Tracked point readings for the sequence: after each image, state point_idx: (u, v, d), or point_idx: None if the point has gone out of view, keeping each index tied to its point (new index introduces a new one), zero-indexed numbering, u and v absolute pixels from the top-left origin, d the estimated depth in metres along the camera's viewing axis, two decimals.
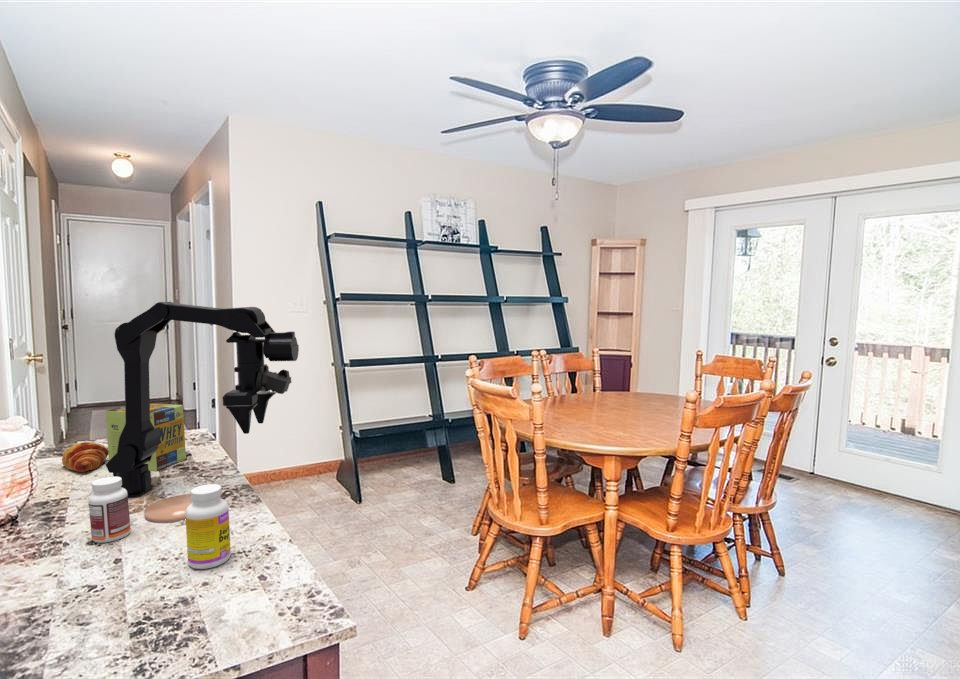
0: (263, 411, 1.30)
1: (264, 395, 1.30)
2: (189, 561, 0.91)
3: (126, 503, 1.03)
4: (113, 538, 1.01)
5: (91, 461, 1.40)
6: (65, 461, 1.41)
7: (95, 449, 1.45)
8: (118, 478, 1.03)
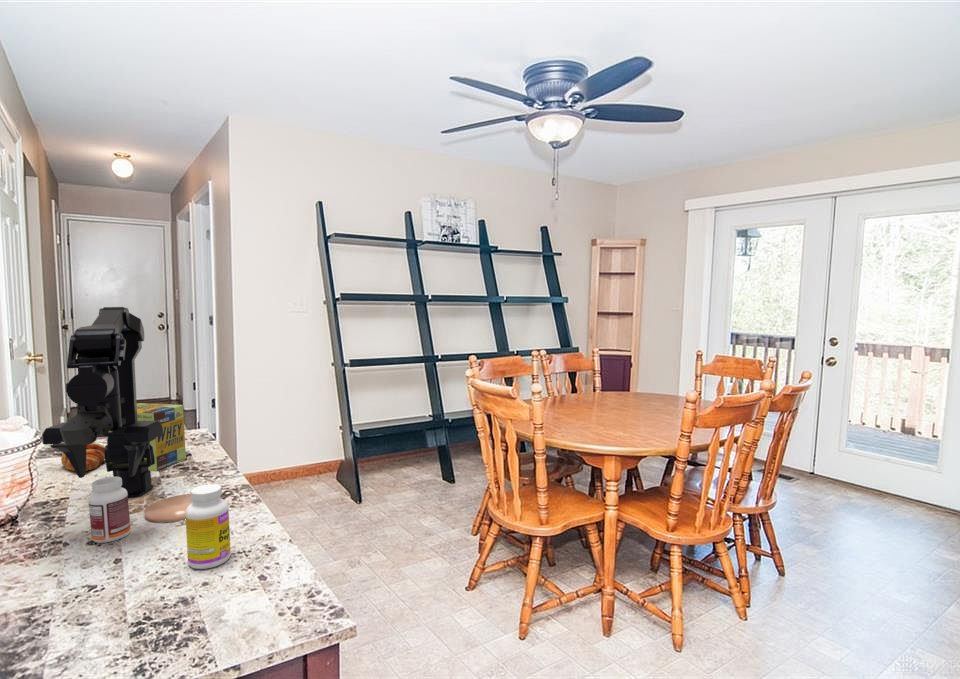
0: None
1: None
2: (189, 561, 0.91)
3: (126, 503, 1.03)
4: (113, 538, 1.01)
5: (89, 462, 1.40)
6: (64, 461, 1.41)
7: (94, 449, 1.44)
8: (118, 478, 1.03)
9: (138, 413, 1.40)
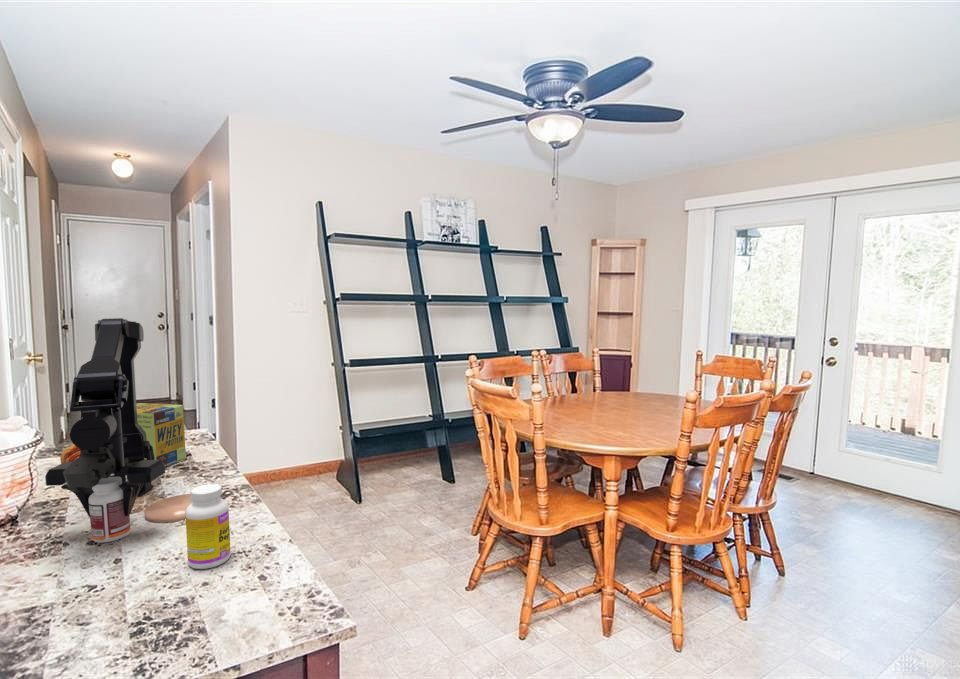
0: None
1: None
2: (189, 561, 0.91)
3: None
4: (113, 538, 1.01)
5: None
6: (63, 461, 1.41)
7: None
8: (118, 478, 1.03)
9: (138, 413, 1.40)
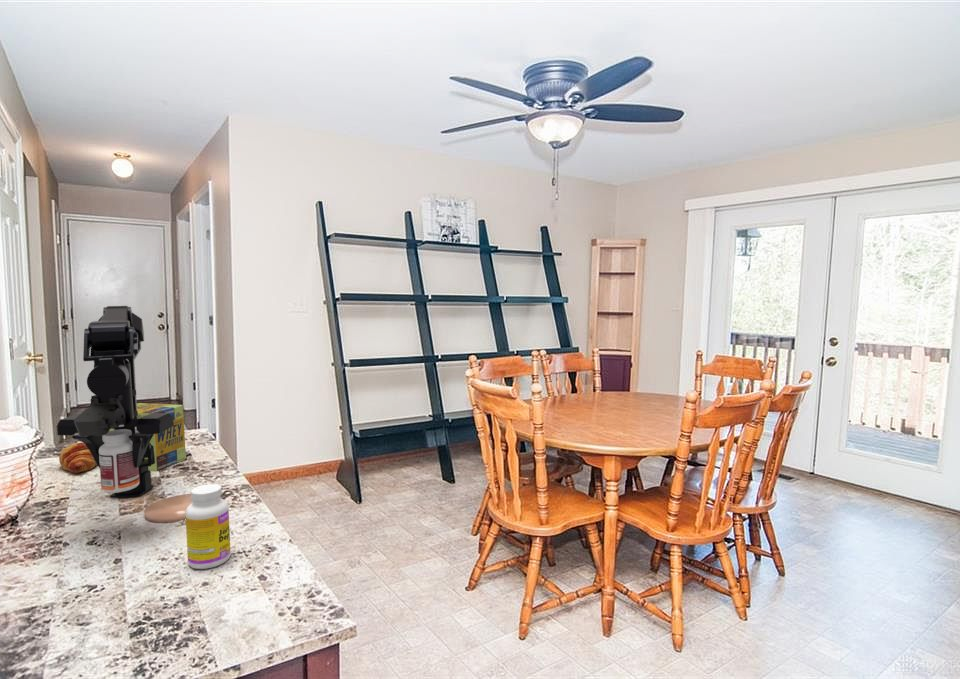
0: None
1: None
2: (189, 561, 0.91)
3: None
4: (123, 489, 1.02)
5: (85, 462, 1.40)
6: (61, 461, 1.41)
7: None
8: (128, 430, 1.05)
9: (138, 413, 1.40)
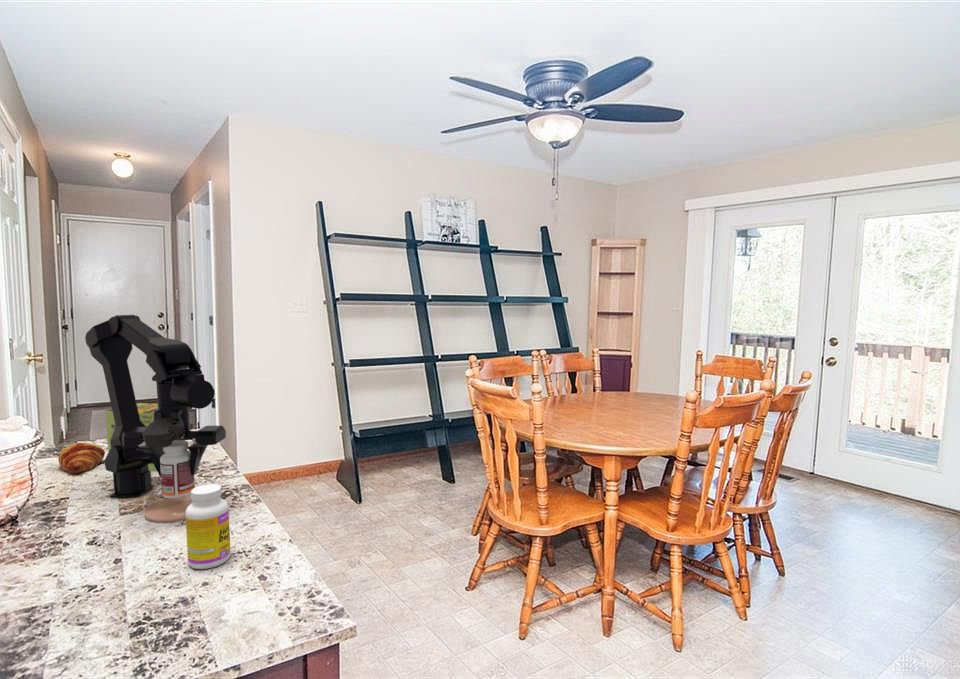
0: None
1: None
2: (189, 561, 0.91)
3: None
4: (182, 495, 1.13)
5: (83, 463, 1.39)
6: (60, 462, 1.41)
7: (89, 450, 1.44)
8: (185, 442, 1.15)
9: None
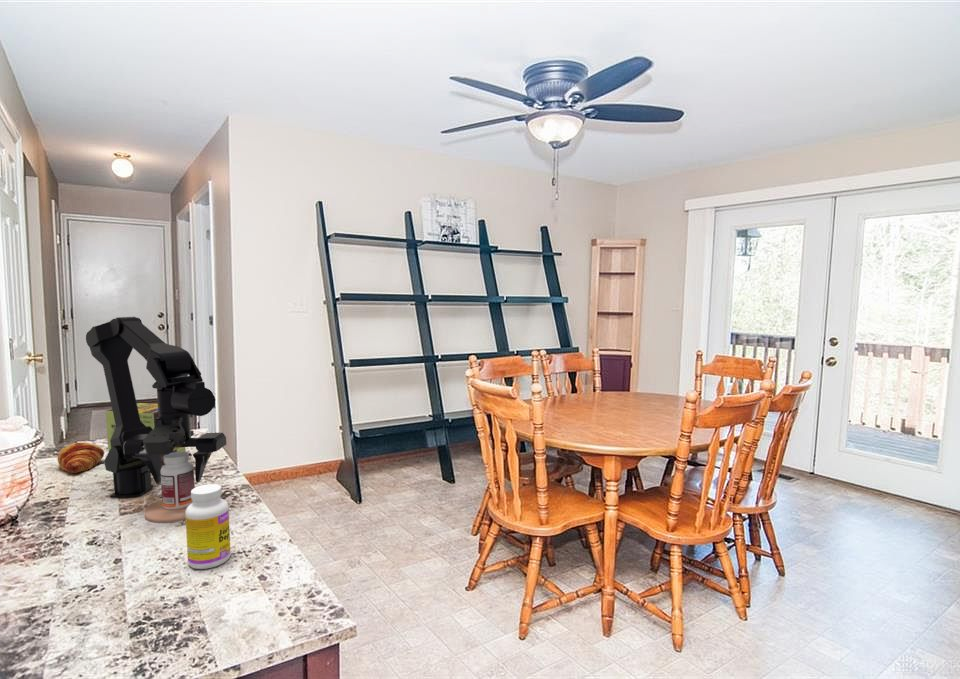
0: None
1: None
2: (189, 561, 0.91)
3: (192, 475, 1.15)
4: (182, 506, 1.13)
5: (82, 463, 1.39)
6: (59, 461, 1.41)
7: (88, 450, 1.44)
8: (185, 453, 1.16)
9: None
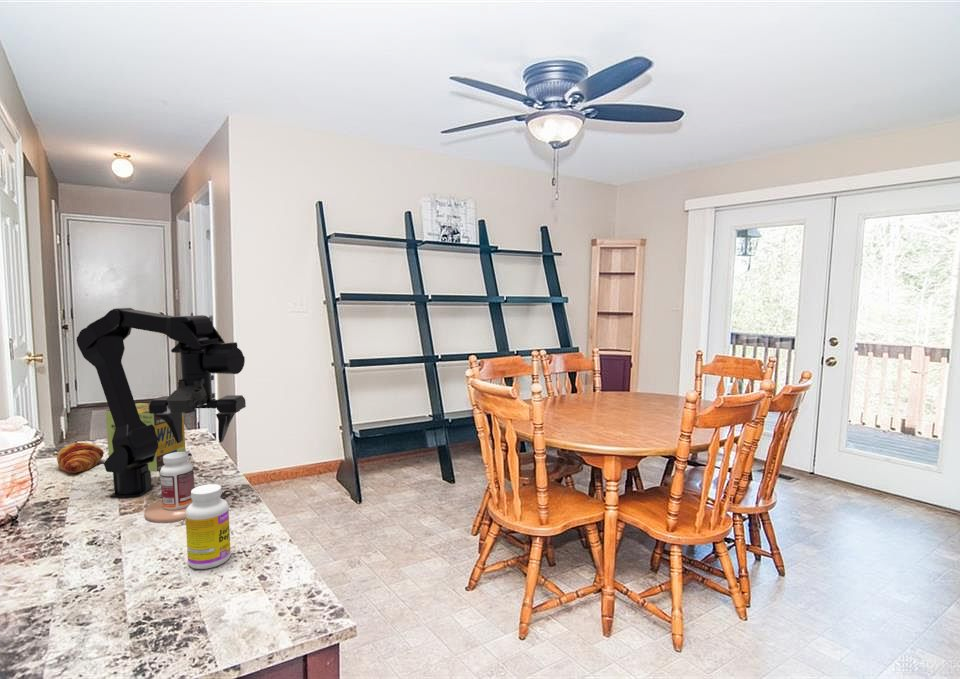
0: None
1: None
2: (189, 561, 0.91)
3: (192, 475, 1.15)
4: (182, 506, 1.13)
5: (81, 463, 1.39)
6: (58, 462, 1.41)
7: (88, 450, 1.44)
8: (185, 453, 1.16)
9: (138, 413, 1.40)
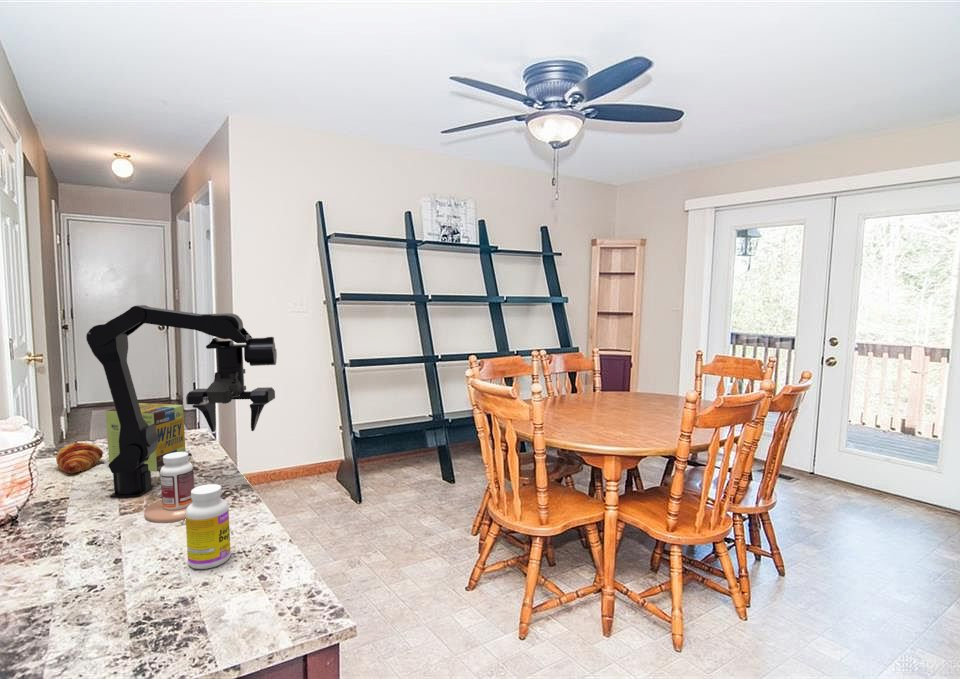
0: None
1: None
2: (189, 561, 0.91)
3: (192, 475, 1.15)
4: (182, 506, 1.13)
5: (79, 463, 1.39)
6: (57, 462, 1.41)
7: (87, 450, 1.44)
8: (185, 453, 1.16)
9: None
